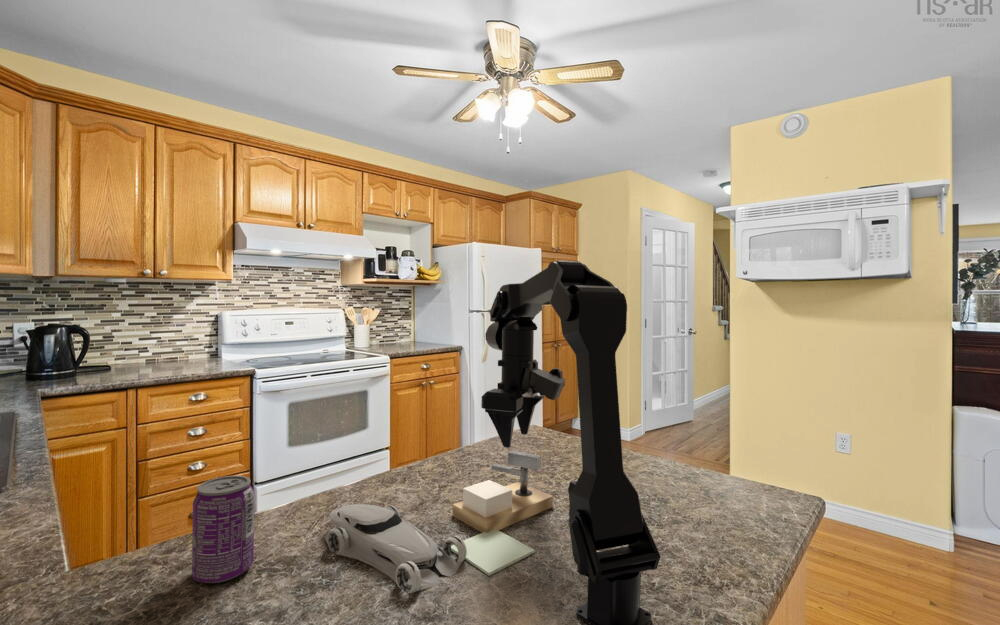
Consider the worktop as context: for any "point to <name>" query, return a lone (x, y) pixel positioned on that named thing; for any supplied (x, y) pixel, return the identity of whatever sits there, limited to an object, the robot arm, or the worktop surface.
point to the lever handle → (523, 462)
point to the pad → (493, 551)
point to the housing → (520, 510)
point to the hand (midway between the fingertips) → (516, 440)
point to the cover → (487, 498)
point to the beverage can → (222, 529)
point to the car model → (392, 546)
